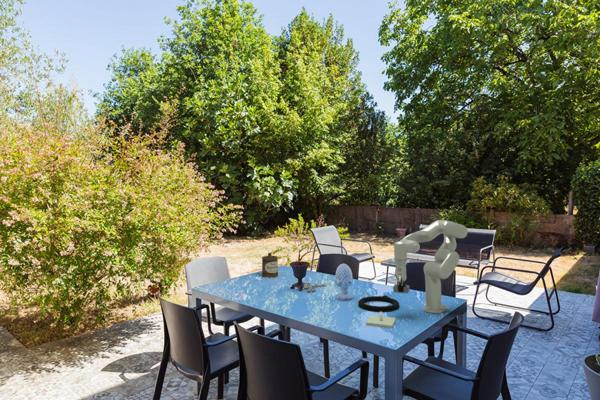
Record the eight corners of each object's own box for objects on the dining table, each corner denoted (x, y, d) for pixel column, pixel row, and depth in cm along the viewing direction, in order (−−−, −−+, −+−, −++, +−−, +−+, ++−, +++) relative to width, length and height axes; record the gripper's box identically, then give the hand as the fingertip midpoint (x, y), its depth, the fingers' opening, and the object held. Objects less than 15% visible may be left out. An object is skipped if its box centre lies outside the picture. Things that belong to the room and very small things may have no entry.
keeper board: (395, 320, 225) (395, 309, 225) (392, 328, 212) (392, 316, 212) (371, 317, 230) (370, 307, 230) (366, 325, 217) (365, 314, 217)
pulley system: (296, 292, 297) (313, 293, 289) (296, 286, 297) (313, 287, 290) (312, 285, 321) (328, 286, 313) (312, 280, 321) (328, 281, 314)
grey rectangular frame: (409, 290, 233) (409, 285, 233) (408, 293, 228) (408, 287, 228) (394, 289, 237) (394, 284, 237) (393, 292, 231) (393, 286, 231)
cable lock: (351, 303, 249) (367, 292, 275) (351, 309, 249) (367, 297, 275) (392, 309, 235) (405, 297, 261) (392, 315, 235) (405, 302, 261)
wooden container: (267, 278, 343) (266, 254, 342) (259, 275, 355) (259, 252, 355) (280, 276, 351) (280, 252, 350) (273, 273, 363) (272, 251, 363)
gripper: (405, 264, 222) (406, 294, 223) (408, 259, 238) (409, 287, 239) (392, 264, 225) (393, 293, 226) (396, 258, 241) (397, 286, 242)
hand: (401, 290), depth 232 cm, fingers closed on grey rectangular frame, 6 cm apart
